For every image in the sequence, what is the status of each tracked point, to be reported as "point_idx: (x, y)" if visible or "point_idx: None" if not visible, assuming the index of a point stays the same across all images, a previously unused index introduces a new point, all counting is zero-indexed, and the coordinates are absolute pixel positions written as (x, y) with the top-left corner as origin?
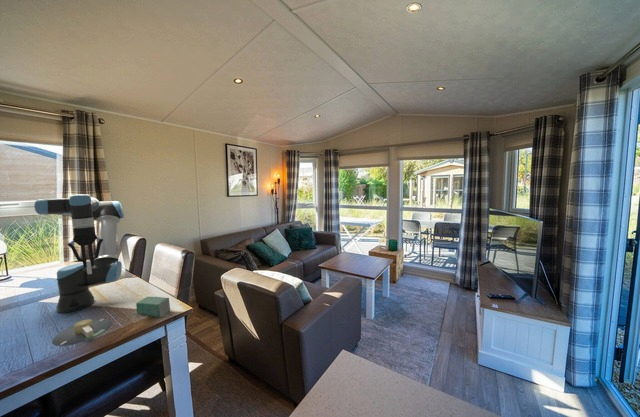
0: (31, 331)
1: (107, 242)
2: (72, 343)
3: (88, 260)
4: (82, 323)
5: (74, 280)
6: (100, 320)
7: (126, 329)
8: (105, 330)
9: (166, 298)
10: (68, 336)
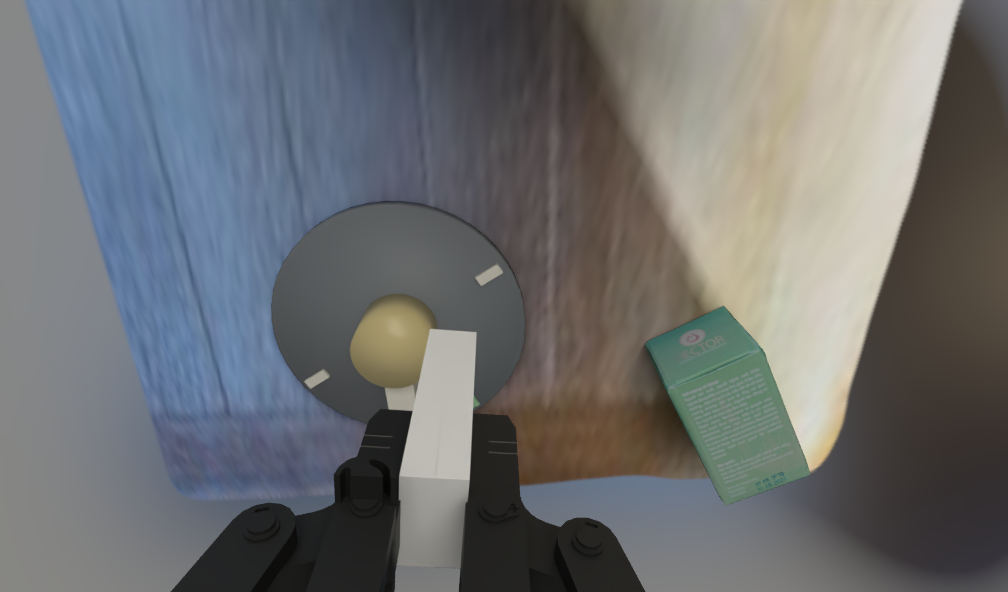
0: (148, 13)
1: None
2: (349, 408)
3: (439, 514)
4: (389, 359)
5: None
6: (483, 278)
7: (551, 435)
8: (477, 403)
9: (796, 475)
10: (335, 325)
